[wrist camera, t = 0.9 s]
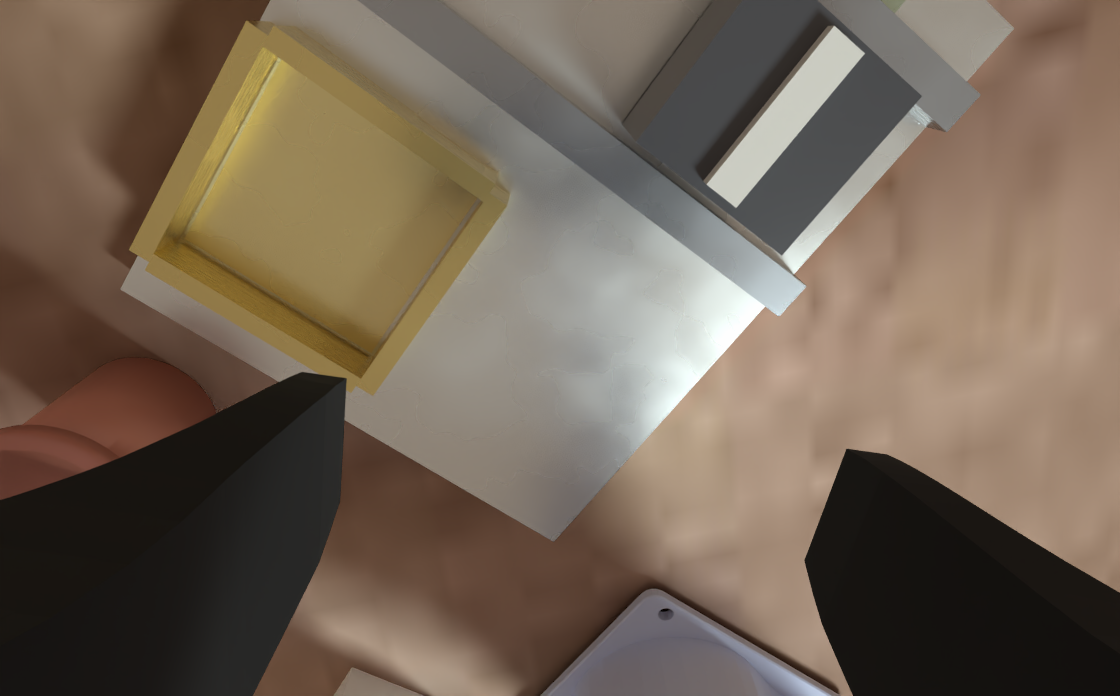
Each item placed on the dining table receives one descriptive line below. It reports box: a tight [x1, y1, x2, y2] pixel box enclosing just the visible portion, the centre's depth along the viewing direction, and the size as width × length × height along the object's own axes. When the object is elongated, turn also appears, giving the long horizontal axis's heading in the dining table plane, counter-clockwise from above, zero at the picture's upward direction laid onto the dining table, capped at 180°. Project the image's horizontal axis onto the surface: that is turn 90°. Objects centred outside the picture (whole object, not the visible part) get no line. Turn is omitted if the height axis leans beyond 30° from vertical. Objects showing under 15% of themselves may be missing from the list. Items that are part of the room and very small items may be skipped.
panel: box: [120, 0, 1014, 542], centre depth 17 cm, size 14×18×2 cm
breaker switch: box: [622, 0, 922, 255], centre depth 15 cm, size 4×4×3 cm
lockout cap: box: [0, 357, 216, 500], centre depth 19 cm, size 5×5×5 cm
